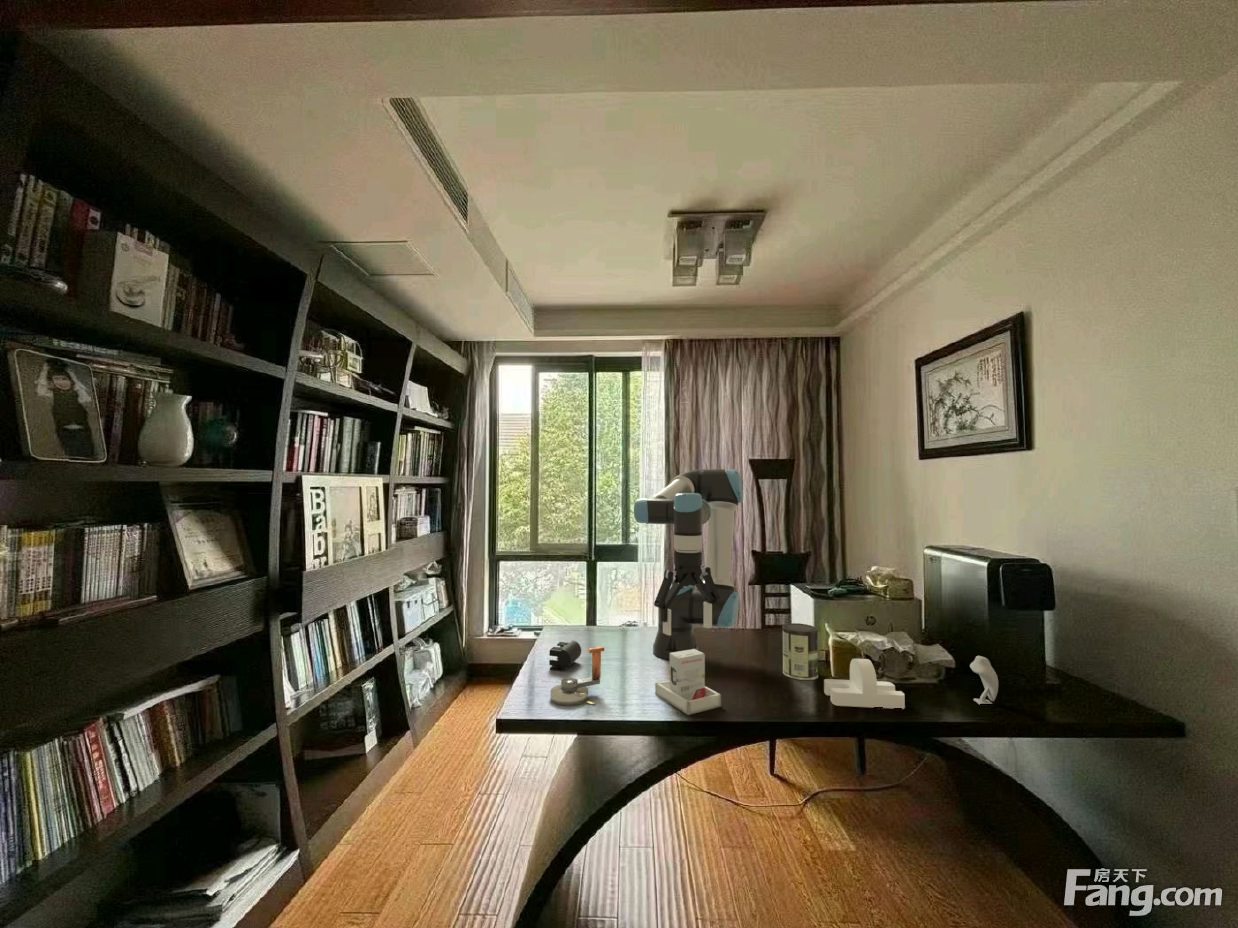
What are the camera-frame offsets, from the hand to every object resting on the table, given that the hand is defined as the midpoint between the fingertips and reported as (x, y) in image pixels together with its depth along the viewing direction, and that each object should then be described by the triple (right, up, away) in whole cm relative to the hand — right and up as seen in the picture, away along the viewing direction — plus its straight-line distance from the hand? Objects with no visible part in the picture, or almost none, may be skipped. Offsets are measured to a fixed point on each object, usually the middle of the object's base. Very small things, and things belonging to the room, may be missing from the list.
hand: (687, 630), depth 137 cm
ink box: (0, -18, -1) cm, 18 cm away
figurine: (+79, -19, -1) cm, 81 cm away
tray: (0, -18, -1) cm, 18 cm away
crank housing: (-31, -18, -2) cm, 36 cm away
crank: (-28, -15, +1) cm, 32 cm away
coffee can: (+37, -20, +19) cm, 46 cm away
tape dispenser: (+47, -19, 0) cm, 51 cm away
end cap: (-35, -19, +24) cm, 47 cm away
